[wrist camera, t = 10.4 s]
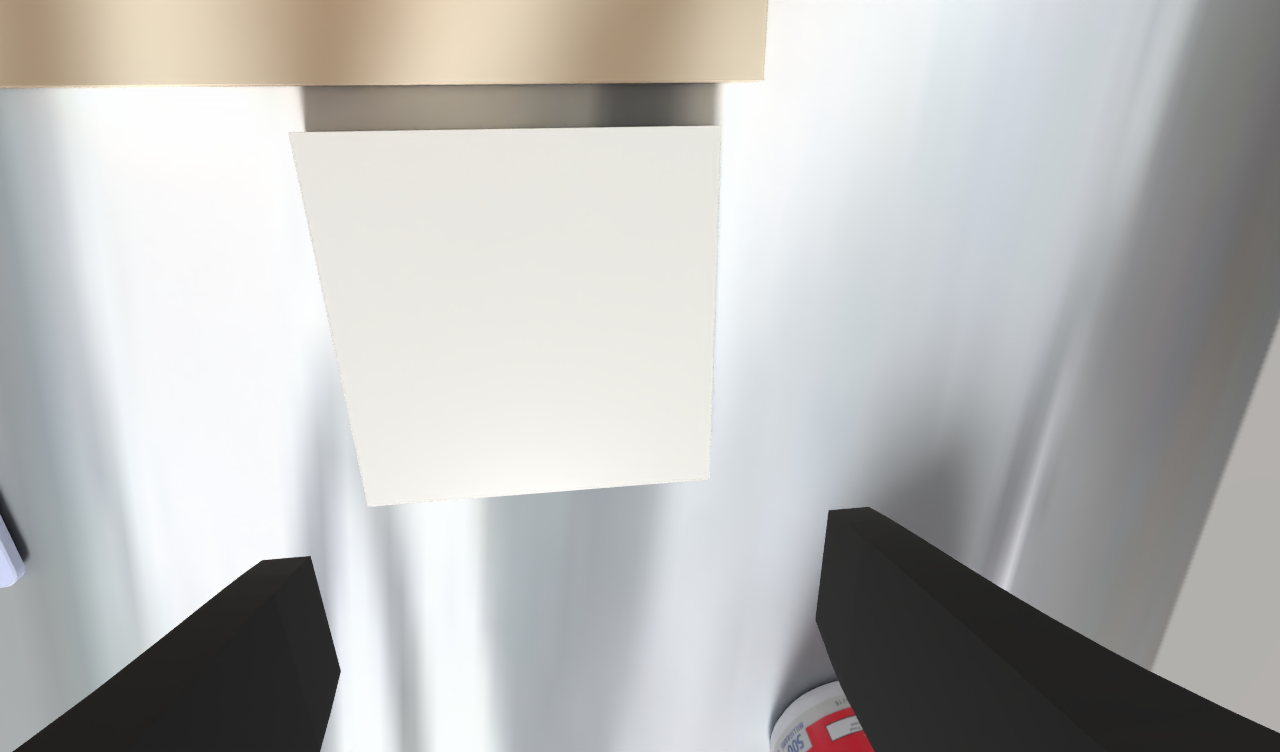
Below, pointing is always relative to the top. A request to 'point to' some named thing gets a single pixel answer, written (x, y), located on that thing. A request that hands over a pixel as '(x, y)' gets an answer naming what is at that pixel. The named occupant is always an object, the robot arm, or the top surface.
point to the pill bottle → (820, 724)
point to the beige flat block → (378, 42)
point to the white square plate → (518, 303)
